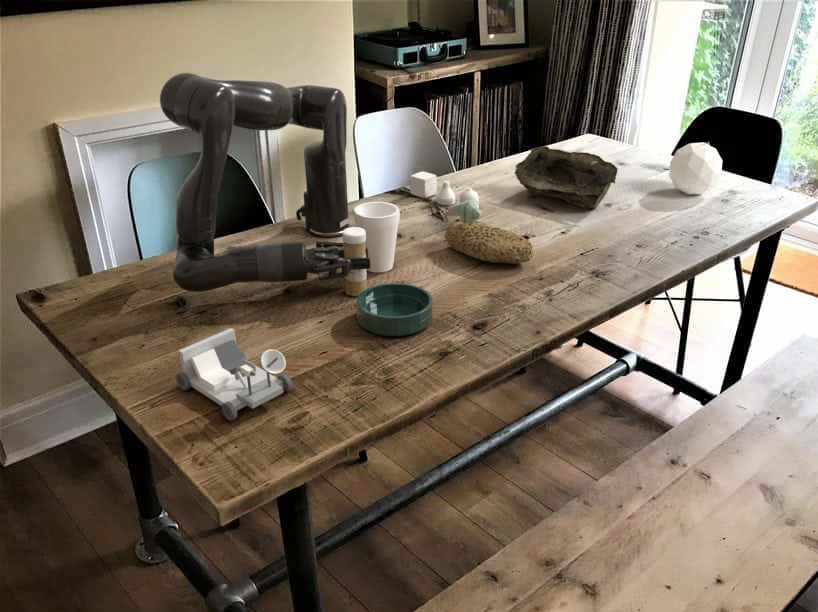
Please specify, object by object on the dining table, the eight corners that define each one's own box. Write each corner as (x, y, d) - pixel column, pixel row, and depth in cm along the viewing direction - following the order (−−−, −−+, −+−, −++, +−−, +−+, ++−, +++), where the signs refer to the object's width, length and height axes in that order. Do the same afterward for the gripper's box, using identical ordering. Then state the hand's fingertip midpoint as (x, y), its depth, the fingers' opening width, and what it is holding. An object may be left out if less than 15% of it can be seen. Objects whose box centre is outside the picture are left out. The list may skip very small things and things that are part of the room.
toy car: (299, 347, 123) (236, 376, 115) (303, 399, 128) (244, 430, 120) (229, 309, 132) (167, 334, 125) (236, 359, 137) (177, 386, 130)
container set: (410, 195, 210) (410, 175, 207) (422, 190, 213) (422, 170, 211) (470, 213, 200) (471, 192, 197) (482, 207, 203) (483, 187, 201)
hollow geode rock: (610, 230, 205) (636, 181, 206) (596, 208, 194) (624, 156, 195) (522, 201, 219) (547, 155, 221) (505, 178, 208) (531, 130, 210)
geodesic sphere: (685, 156, 226) (680, 123, 215) (734, 166, 219) (731, 132, 208) (663, 198, 223) (657, 166, 211) (712, 209, 216) (708, 177, 204)
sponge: (439, 255, 180) (494, 269, 165) (441, 220, 178) (497, 231, 163) (484, 252, 188) (541, 265, 173) (486, 219, 186) (543, 229, 171)
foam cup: (406, 261, 174) (406, 205, 167) (389, 278, 166) (388, 220, 160) (367, 254, 177) (365, 199, 170) (349, 271, 169) (346, 213, 162)
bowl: (345, 330, 147) (343, 309, 145) (376, 298, 159) (376, 278, 156) (415, 345, 143) (415, 323, 141) (442, 310, 155) (443, 290, 153)
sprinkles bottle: (340, 292, 160) (337, 230, 153) (356, 285, 163) (354, 224, 156) (356, 299, 158) (353, 237, 151) (372, 292, 161) (370, 230, 154)
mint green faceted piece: (450, 225, 193) (451, 199, 189) (459, 220, 196) (460, 194, 192) (477, 233, 189) (478, 206, 185) (486, 228, 192) (488, 201, 188)
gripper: (279, 260, 146) (371, 255, 149) (279, 230, 158) (365, 226, 161) (283, 296, 150) (373, 290, 153) (283, 264, 162) (366, 260, 165)
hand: (368, 257), depth 157 cm, fingers closed on sprinkles bottle, 4 cm apart
